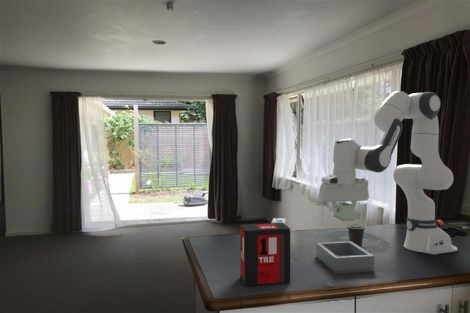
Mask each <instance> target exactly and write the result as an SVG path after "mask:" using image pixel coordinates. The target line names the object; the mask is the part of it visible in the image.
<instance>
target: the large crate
mask: <svg viewBox="0 0 470 313" xmlns="http://www.w3.org/2000/svg"><path fill="white" fill-rule="evenodd" d="M315 257H316V258H317V259H318V260H319V261H321V263H323V264H324V265H325V266H326V267H327V268H328V269H330V271H332V272H333V273H334V274H347V273H348V274H349V273H365V272H375V255H374V254H372V253H370V252H369V251H368V250H366V249H364V248H362V247H359V246H358V245H356V244H354V243H353V242H351V241H349V240H347V241H345V240H344V241H331V242H327V241H326V242H316V244H315Z"/></svg>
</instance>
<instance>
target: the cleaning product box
mask: <svg viewBox="0 0 470 313" xmlns="http://www.w3.org/2000/svg"><path fill="white" fill-rule="evenodd" d="M239 242H240V244H239V251H240V252H239V253H240V257H239V258H240V260H239V261H240V262H239V263H240V265H239V267H240V272H239V273H240V279H241V282H242V284H243V286H244V288H253V287H265V286H277V285H278V286H280V285H288V284H289V285H291V228H290V227H289V226H288V225H287V224H286V225H285V224H284V223H271V222H270V223H249V224H240V225H239Z"/></svg>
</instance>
